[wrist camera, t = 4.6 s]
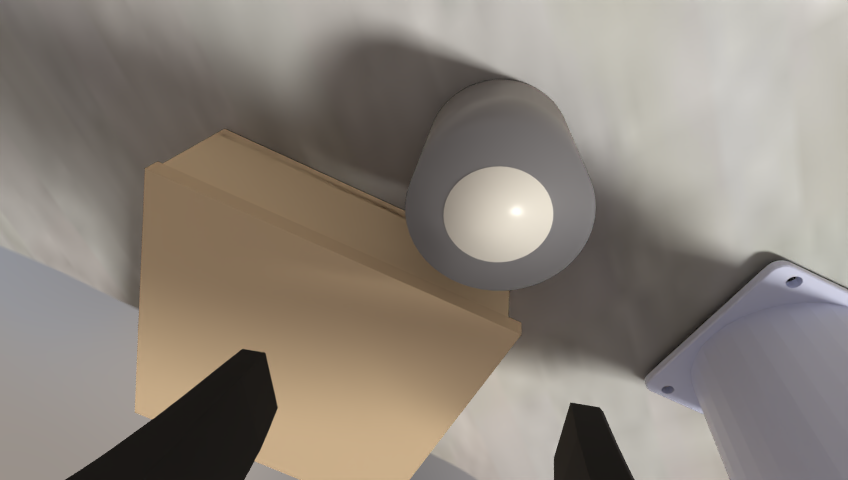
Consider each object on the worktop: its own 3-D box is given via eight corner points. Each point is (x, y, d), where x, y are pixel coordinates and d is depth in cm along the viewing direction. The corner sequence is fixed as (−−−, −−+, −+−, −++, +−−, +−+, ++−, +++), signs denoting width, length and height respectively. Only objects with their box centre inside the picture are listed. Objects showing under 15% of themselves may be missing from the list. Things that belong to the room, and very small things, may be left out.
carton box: (510, 259, 19) (508, 322, 16) (398, 430, 27) (380, 497, 23) (224, 128, 18) (158, 165, 15) (192, 343, 26) (144, 399, 23)
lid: (521, 322, 16) (521, 334, 15) (386, 501, 24) (383, 513, 23) (157, 161, 15) (144, 168, 14) (143, 402, 23) (134, 412, 22)
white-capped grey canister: (594, 102, 15) (632, 156, 11) (538, 227, 18) (552, 310, 14) (446, 61, 15) (428, 101, 11) (414, 194, 18) (389, 266, 14)
